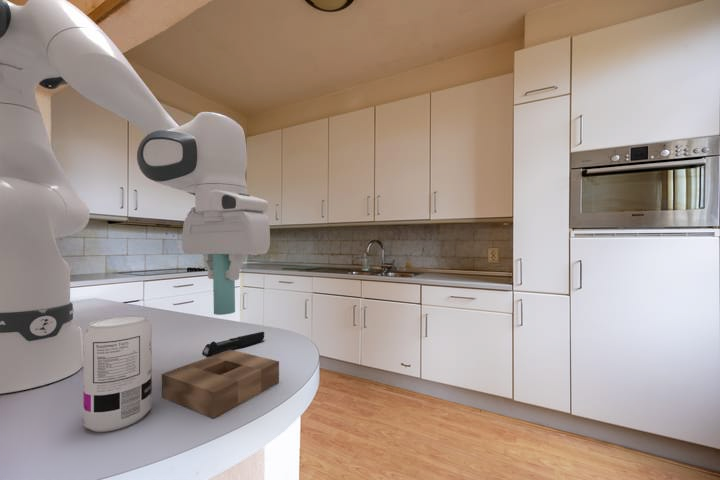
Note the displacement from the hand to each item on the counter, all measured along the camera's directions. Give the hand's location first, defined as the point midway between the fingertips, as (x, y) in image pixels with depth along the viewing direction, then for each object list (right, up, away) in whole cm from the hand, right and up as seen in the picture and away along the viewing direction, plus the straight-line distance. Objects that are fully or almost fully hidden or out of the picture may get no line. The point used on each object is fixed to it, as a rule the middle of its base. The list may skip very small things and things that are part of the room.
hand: (223, 279), depth 57 cm
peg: (0, -6, 0) cm, 6 cm away
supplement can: (-12, -20, -9) cm, 25 cm away
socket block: (0, -20, 0) cm, 20 cm away
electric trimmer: (-7, -21, +23) cm, 31 cm away
